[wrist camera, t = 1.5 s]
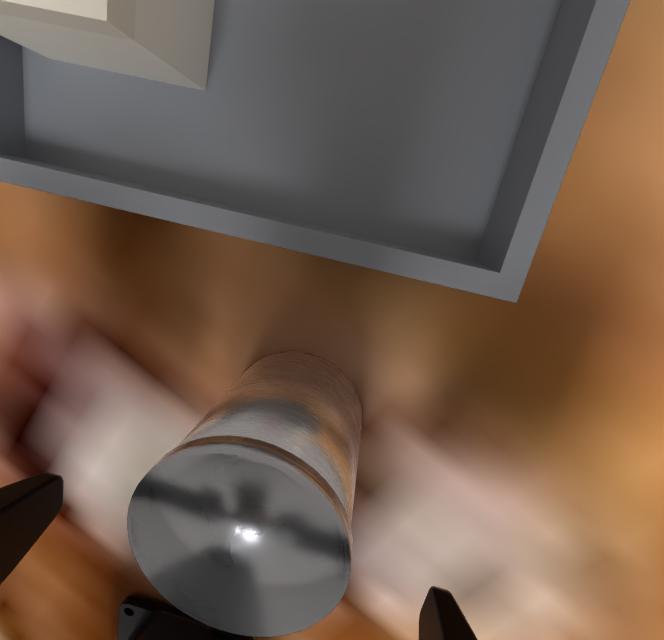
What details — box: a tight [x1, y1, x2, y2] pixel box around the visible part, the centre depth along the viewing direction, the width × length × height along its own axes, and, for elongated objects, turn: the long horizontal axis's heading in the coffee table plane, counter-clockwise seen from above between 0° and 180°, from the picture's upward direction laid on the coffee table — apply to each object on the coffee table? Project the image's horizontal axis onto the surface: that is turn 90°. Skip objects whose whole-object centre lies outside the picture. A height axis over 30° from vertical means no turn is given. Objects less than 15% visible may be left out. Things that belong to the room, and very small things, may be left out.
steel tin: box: [127, 351, 362, 637], centre depth 11 cm, size 5×5×6 cm
